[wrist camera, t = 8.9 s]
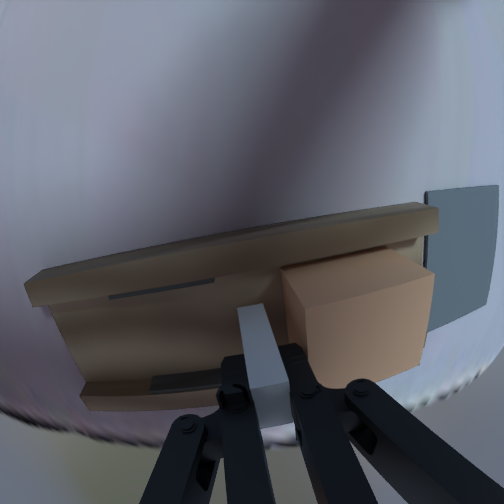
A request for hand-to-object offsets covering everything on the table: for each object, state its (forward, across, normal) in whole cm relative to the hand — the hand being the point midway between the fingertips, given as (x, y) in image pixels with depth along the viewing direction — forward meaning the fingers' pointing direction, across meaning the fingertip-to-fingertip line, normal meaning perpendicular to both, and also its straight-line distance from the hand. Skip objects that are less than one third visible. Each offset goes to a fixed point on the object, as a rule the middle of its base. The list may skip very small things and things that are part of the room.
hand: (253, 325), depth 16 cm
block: (+1, +6, 0) cm, 6 cm away
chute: (+2, -1, 0) cm, 2 cm away
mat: (+2, +18, 0) cm, 18 cm away
